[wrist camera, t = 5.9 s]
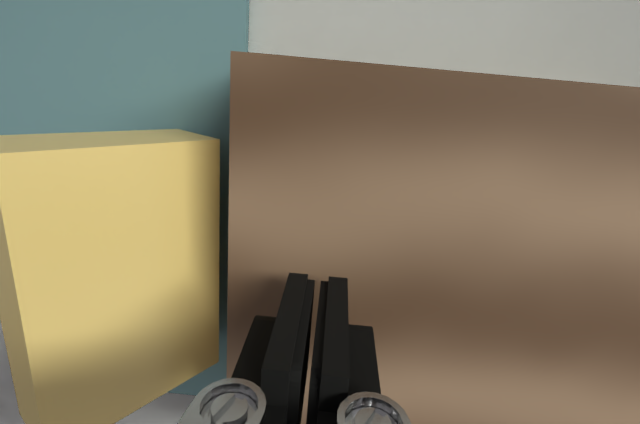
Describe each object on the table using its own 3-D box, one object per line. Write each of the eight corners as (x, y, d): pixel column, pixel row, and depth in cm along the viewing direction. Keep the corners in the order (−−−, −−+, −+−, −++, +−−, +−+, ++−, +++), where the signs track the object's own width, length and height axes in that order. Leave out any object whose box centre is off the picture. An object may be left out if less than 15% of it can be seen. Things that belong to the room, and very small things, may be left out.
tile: (219, 139, 13) (177, 128, 14) (-10, 154, 8) (-37, 136, 10) (218, 361, 16) (183, 334, 17) (47, 462, 11) (19, 413, 13)
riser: (261, 60, 14) (230, 50, 10) (661, 96, 13) (787, 100, 10) (250, 378, 18) (225, 455, 14) (550, 412, 18) (606, 500, 14)
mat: (-50, -30, 13) (-62, -33, 13) (249, -5, 13) (246, -7, 13) (25, 369, 19) (19, 375, 18) (239, 393, 19) (237, 400, 18)
